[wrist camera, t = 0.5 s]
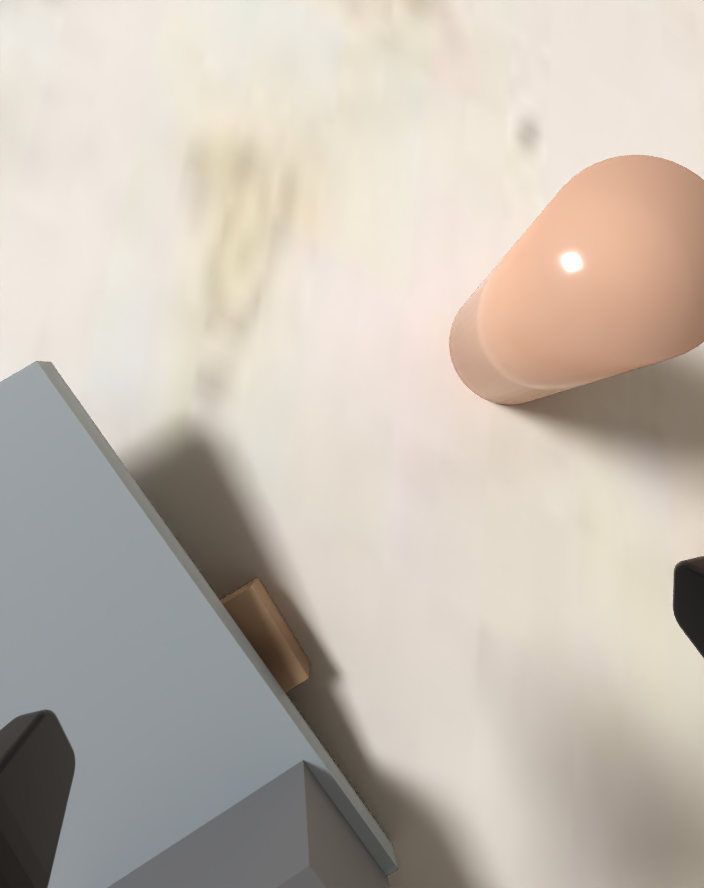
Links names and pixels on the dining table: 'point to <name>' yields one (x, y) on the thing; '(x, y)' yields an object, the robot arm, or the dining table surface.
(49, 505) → the balance plank
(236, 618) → the walnut fulcrum
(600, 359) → the peach bullet knob
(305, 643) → the dining table surface
